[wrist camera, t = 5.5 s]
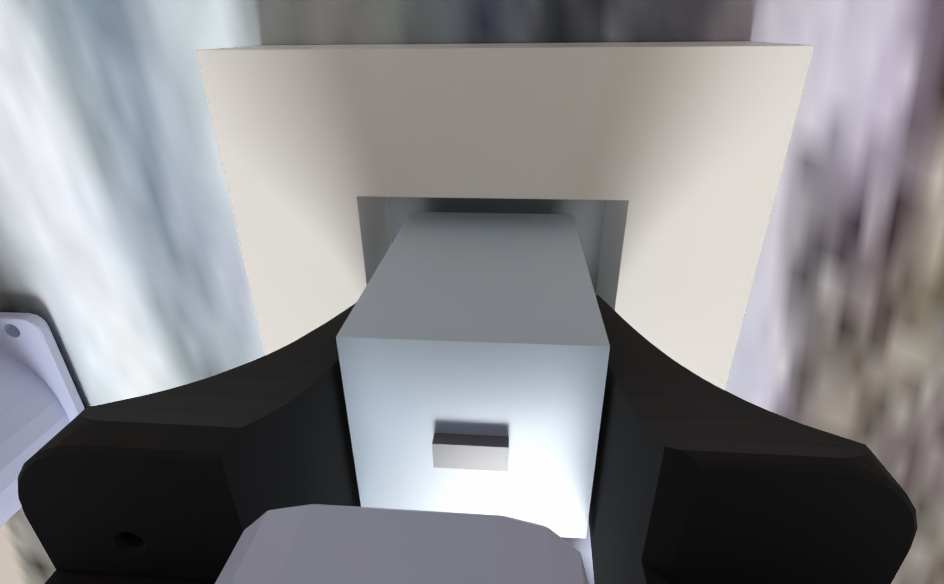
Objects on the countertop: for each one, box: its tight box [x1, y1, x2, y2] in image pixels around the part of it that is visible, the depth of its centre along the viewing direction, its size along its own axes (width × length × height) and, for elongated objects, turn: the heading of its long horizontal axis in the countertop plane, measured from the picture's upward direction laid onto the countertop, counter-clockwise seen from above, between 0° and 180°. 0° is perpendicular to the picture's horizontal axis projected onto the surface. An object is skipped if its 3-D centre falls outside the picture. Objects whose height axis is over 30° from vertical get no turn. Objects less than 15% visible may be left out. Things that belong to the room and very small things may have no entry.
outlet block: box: [196, 41, 814, 390], centre depth 14 cm, size 12×12×3 cm
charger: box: [336, 212, 610, 539], centre depth 11 cm, size 4×4×6 cm
